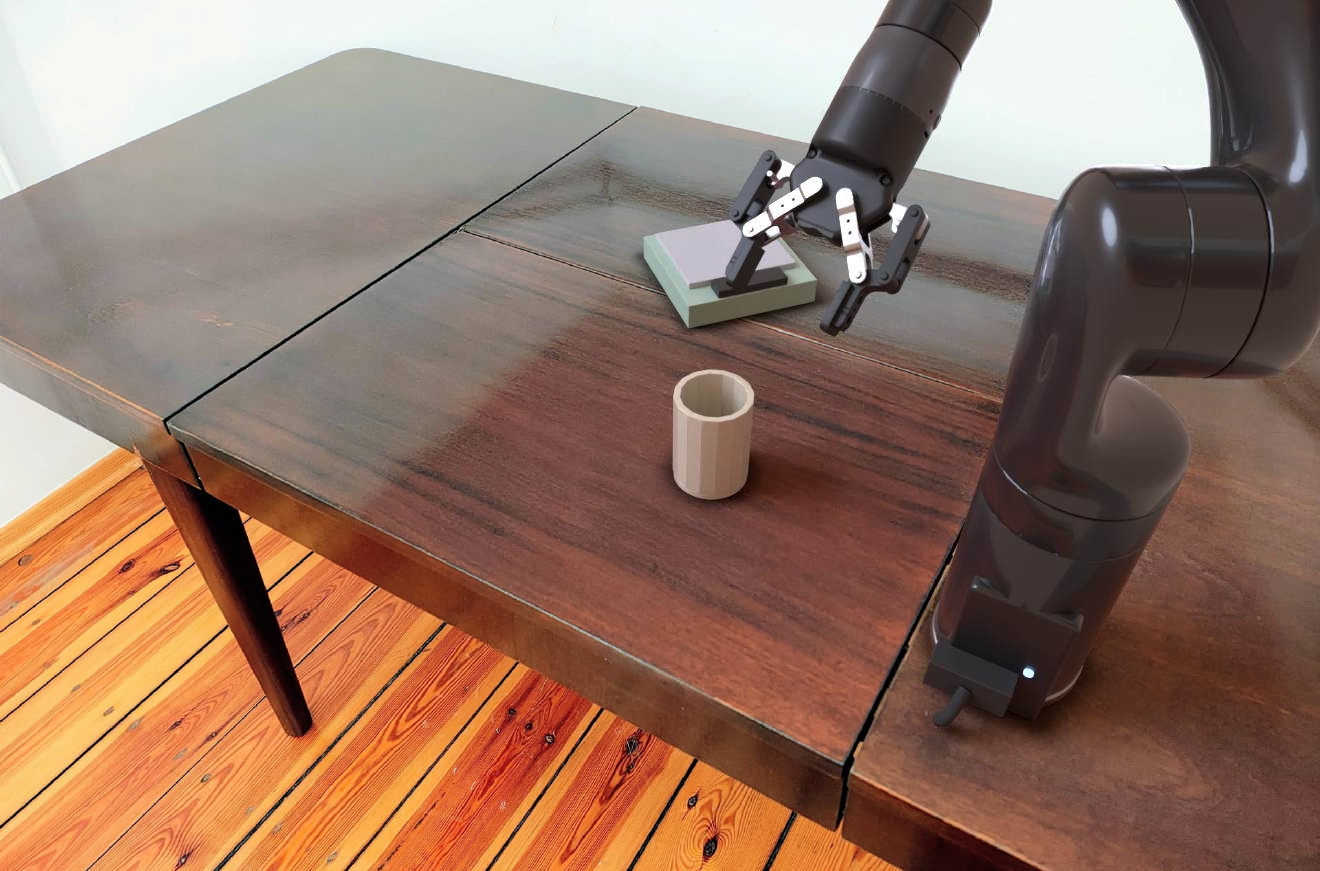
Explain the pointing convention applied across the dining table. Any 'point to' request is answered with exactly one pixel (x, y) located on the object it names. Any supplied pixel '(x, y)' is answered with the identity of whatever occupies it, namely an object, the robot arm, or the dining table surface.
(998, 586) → the robot arm
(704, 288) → the scale
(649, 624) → the dining table surface
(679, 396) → the cup
